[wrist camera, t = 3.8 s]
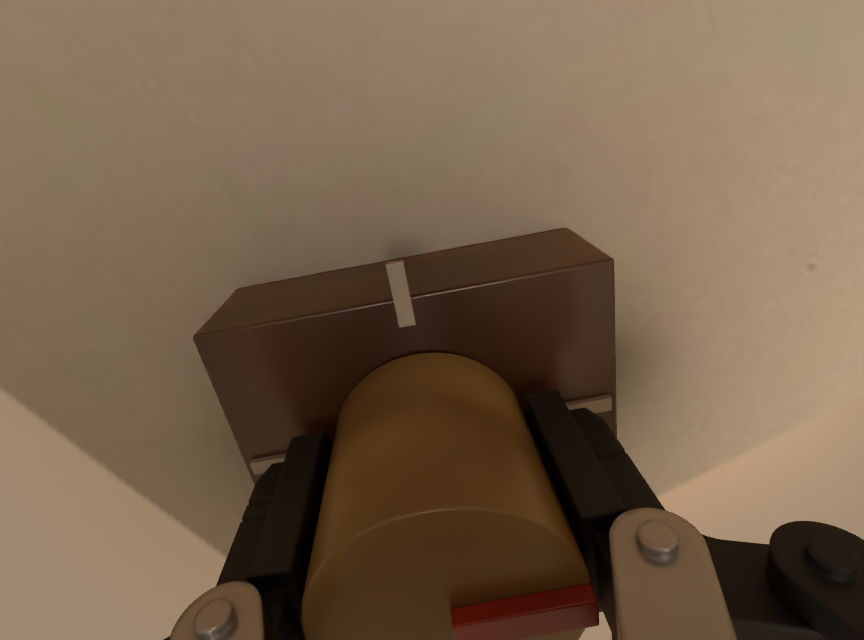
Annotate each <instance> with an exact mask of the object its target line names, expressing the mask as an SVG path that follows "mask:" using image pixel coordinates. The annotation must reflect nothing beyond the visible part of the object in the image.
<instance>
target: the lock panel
mask: <svg viewBox="0 0 864 640" xmlns="http://www.w3.org/2000/svg"><path fill="white" fill-rule="evenodd" d="M193 340H194V342H195V344H196V347H197V349H198V352H199V354H200V356H201V359H202V361H203V363H204V366H205V368H206V371H207V373H208V375H209V378H210V380H211V382H212V385H213V387H214V390H215V392H216V394H217V397H218V399H219V401H220V404H221V406H222V409H223V411H224V413H225V416H226V418H227V420H228V423H229V425H230V428H231V430H232V432H233V435H234V437H235V439H236V442H237V444H238V447H239V449H240V451H241V454H242V456H243V458H244V461H245V463H246V466H247V468H248V470H249V473H250V475H251V478H252V480H253V482H254V485H255V484H256V482H257V481H258V480H259V478H260V477H261V476H262V475H263V474H264V472H265V471H266V470H267V469H268V468H269V467H270V465H271V464H274V463H280V462H284V460H285V457H286V453H287V450H288V447H289V444H290V441H291V439H292V438H293V437H296V436H302V435H307V434H313V433H318V432H323V431H326V432H327V433H328V434H329V436H330V438H331V441H332V445H333V442H334V437H335V432H336V427H337V422H338V418H339V414H340V411H341V409H342V407H343V404H344V402H345V400H346V399H347V397H348V396H349V394H350V392H351V391H352V390H353V389H354V388H355V386H356V385H357V384H358V383H359V382H360V381H361V380H362V379H363V378H365V377H366V376H367V375H368V374H370V373H371V372H373V371H374V370H375V369H377V368H378V367H380V366H382V365H384V364H386V363H388V362H390V361H393V360H396V359H398V358H401V357H405V356H409V355H413V354H421V353H448V354H455V355H459V356H463V357H467V358H469V359H472V360H475V361H477V362H479V363H481V364H483V365H485V366H487V367H489V368H490V369H491V370H493V371H494V372H496V373H497V374H498V375H499V376H500V377H501V378H502V379H503V380H504V381H505V382H506V383H507V384H508V385H509V387H510V388H511V389H512V390H513V392H514V394H515V396H516V398H517V399H518V402H519V404H520V407H521V409H522V411H523V414H524V416H525V412H524V402H523V397H524V395H528V394H534V393H539V392H545V391H550V390H557V391H558V392H559V393H560V395H561V397H562V399H563V400H564V402H565V404H566V406H567V407H568V409H569V410H573V409H579V408H584V407H586V408H587V409H589V410H590V411H592V412H593V413H595V414H596V415H598V416H599V417H601V418H602V419H604V420H605V422H606V423H607V425H608V426H609V428H610V429H611V431H612V432H613V434H614V435H615V438H616V439H617V421H616V357H615V292H614V260H613V258H611V257H610V256H608V255H607V254H605V253H604V252H602V251H601V250H600V249H598V248H597V247H595V246H594V245H592V244H591V243H589V242H588V241H586V240H585V239H583V238H582V237H580V236H579V235H577V234H576V233H574V232H573V231H571V230H570V229H568V228H564V229H559V230H553V231H548V232H543V233H537V234H532V235H526V236H521V237H516V238H510V239H505V240H499V241H494V242H489V243H483V244H478V245H472V246H467V247H462V248H456V249H451V250H445V251H440V252H435V253H429V254H424V255H418V256H413V257H408V258H402V259H397V260H391V261H386V262H381V263H375V264H370V265H364V266H359V267H354V268H348V269H343V270H337V271H332V272H327V273H321V274H316V275H310V276H305V277H300V278H294V279H289V280H284V281H278V282H273V283H267V284H262V285H257V286H251V287H246V288H240V289H237V290H236V291H235V292H234V293H233V294H232V295H231V296H230V297H229V298H228V299H227V300H226V301H225V302H224V304H223V305H222V306H221V307H220V308H219V309H218V310H217V311H216V312H215V313H214V314H213V315H212V316H211V318H210V319H209V320H208V321H207V322H206V323H205V324H204V325H203V326H202V327H201V328H200V329H199V330H198V331H197V333H196V334H195V335H194V336H193Z"/></svg>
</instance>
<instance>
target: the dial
mask: <svg viewBox="0 0 864 640" xmlns="http://www.w3.org/2000/svg"><path fill="white" fill-rule="evenodd" d="M301 623H302V630H303V634H304V637H305V640H579V638H580V636H581V635H582V633H583V631H584V630H585V628H587V627H592V626H598V625H599V610H598V599H597V596H596V594H595V592H594V589H593V586H592V579H591V575H590V573H589V570H588V567H587V564H586V562H585V559H584V557H583V555H582V552H581V550H580V547H579V545H578V543H577V540H576V538H575V535H574V533H573V531H572V528H571V526H570V524H569V521H568V519H567V516H566V514H565V512H564V509H563V507H562V504H561V502H560V500H559V497H558V495H557V492H556V490H555V488H554V485H553V483H552V481H551V478H550V476H549V473H548V471H547V469H546V466H545V464H544V461H543V459H542V457H541V454H540V452H539V450H538V447H537V445H536V442H535V440H534V438H533V435H532V433H531V430H530V428H529V426H528V423H527V421H526V418H525V416H524V414H523V411H522V409H521V407H520V404H519V402H518V399H517V398H516V396H515V394H514V392H513V390H512V389H511V388H510V387H509V385H508V384H507V383H506V382H505V381H504V380H503V379H502V378H501V377H500V376H499V375H498V374H497V373H496V372H494V371H493V370H491V369H490V368H489V367H487V366H485V365H483V364H481V363H479V362H477V361H475V360H472V359H469V358H467V357H463V356H459V355H455V354H448V353H421V354H413V355H409V356H405V357H401V358H398V359H396V360H393V361H390V362H388V363H386V364H384V365H382V366H380V367H378V368H377V369H375V370H374V371H373V372H371V373H370V374H368V375H367V376H366V377H365V378H363V379H362V380H361V381H360V382H359V383H358V384H357V385H356V386H355V388H354V389H353V390H352V391H351V392H350V394H349V396H348V397H347V399H346V400H345V402H344V404H343V407H342V409H341V411H340V414H339V418H338V422H337V427H336V432H335V437H334V442H333V447H332V452H331V457H330V462H329V467H328V472H327V477H326V482H325V487H324V492H323V497H322V502H321V507H320V512H319V517H318V522H317V527H316V532H315V537H314V542H313V548H312V553H311V558H310V563H309V568H308V573H307V578H306V583H305V588H304V593H303V598H302V603H301Z"/></svg>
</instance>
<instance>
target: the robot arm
mask: <svg viewBox="0 0 864 640" xmlns="http://www.w3.org/2000/svg"><path fill="white" fill-rule="evenodd" d="M523 402H524V412H525V418H526V421H527V423H528V426H529V428H530V430H531V433H532V435H533V438H534V440H535V442H536V445H537V447H538V450H539V452H540V454H541V457H542V459H543V461H544V464H545V466H546V469H547V471H548V473H549V476H550V478H551V481H552V483H553V485H554V488H555V490H556V492H557V495H558V497H559V500H560V502H561V504H562V507H563V509H564V512H565V514H566V516H567V519H568V521H569V524H570V526H571V528H572V531H573V533H574V535H575V538H576V540H577V543H578V545H579V547H580V550H581V552H582V555H583V557H584V559H585V562H586V564H587V567H588V570H589V573H590V575H591V579H592V586H593V589H594V592H595V594H596V596H597V599H598V610H599V612H602V611H603V613H604V615H605V617H606V620H607V622H608V625H609V627H610V629H611V632H612V640H864V540H863V539H861V538H859V537H858V536H856V535H854V534H852V533H849V532H847V531H845V530H843V529H840V528H837V527H835V526H831V525H828V524H824V523H819V522H812V521H795V522H790V523H786V524H784V525H781V526H780V527H778V528H777V529H776V530H775V531H774V533H773V534H772V536H771V538H770V544H769V545H768V544H757V543H748V542H738V541H728V540H720V539H715V538H711V537H708V536H705V535H702V534H701V533H700V532H699V531H698V530H697V529H696V528H695V527H694V526H693V525H692V524H690V523H689V522H688V521H686V520H685V519H683V518H682V517H680V516H678V515H676V514H674V513H671V512H668V511H666V510H665V509H664V508H663V506H662V505H661V503H660V502H659V500H658V499H657V497H656V496H655V494H654V493H653V491H652V490H651V488H650V487H649V485H648V484H647V482H646V481H645V479H644V478H643V477H642V475H641V474H640V472H639V471H638V469H637V468H636V466H635V465H634V463H633V462H632V460H631V459H630V457H629V456H628V454H627V453H625V451H624V448H623V447H622V445H621V444H620V442H619V441H618V439H616V438H615V435H614V434H613V432H612V431H611V429H610V428H609V426H608V425H607V423H606V422H605V420H604V419H602V418H601V417H599V416H598V415H596V414H595V413H593V412H592V411H590V410H589V409H587V408H586V407H584V408H579V409H573V410H569V409H568V407H567V406H566V404H565V402H564V400H563V399H562V397H561V395H560V393H559V392H558V391H557V390H550V391H545V392H539V393H534V394H528V395H524V397H523ZM332 447H333V445H332V441H331V438H330V436H329V434H328V433H327V432H326V431H323V432H318V433H313V434H307V435H302V436H296V437H293V438H292V439H291V441H290V444H289V447H288V450H287V453H286V457H285V460H284V462H280V463H274V464H271V465H270V467H269V468H268V469H267V470H266V471H265V472H264V474H263V475H262V476H261V477H260V478H259V480H258V481H257V482H256V484H255V486H254V489H253V492H252V494H251V497H250V499H249V506H247V507H246V510H245V512H244V515H243V518H242V520H243V521H242V522H241V523H240V525H239V528H238V531H237V533H236V536H235V538H234V541H233V543H232V546H231V549H230V551H229V554H228V556H227V559H226V562H225V564H224V567H223V569H222V572H221V575H220V577H219V580H218V583H217V585H216V587H214V588H212V589H210V590H209V591H207V592H205V593H204V594H202V595H201V596H200V597H198V598H197V599H196V600H195V601H194V602H193V603H192V604H191V605H189V606H188V608H187V609H186V610H185V611H184V612H183V614H182V615H181V616H180V618H179V619H178V621H177V622H176V624H175V626H174V628H173V630H172V633H171V635H170V636H169V637H168V638H166V639H164V640H305V637H304V634H303V630H302V623H301V603H302V598H303V593H304V588H305V583H306V578H307V573H308V568H309V563H310V558H311V553H312V548H313V542H314V537H315V532H316V527H317V522H318V517H319V512H320V507H321V502H322V497H323V492H324V487H325V482H326V477H327V472H328V467H329V462H330V457H331V452H332Z"/></svg>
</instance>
